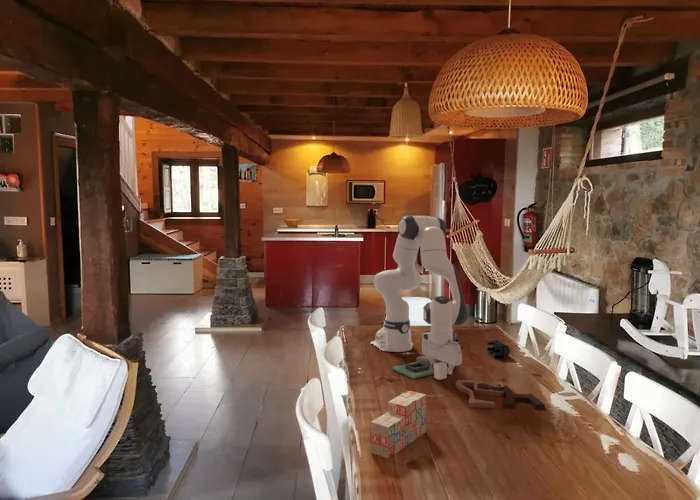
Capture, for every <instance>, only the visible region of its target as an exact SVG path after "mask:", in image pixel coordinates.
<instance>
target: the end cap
mask: <svg viewBox="0 0 700 500" xmlns="http://www.w3.org/2000/svg"><path fill="white" fill-rule="evenodd" d="M486 343H487V344H486V345H487V346H491V345H492V346H491V347H486V351H487V355H488V356H490V357H491V358H492V359H494V360H504V359H506V358H507V357H508V356H509V355H510V353H511V349H510V347H509V346H508V345H507V344H505V343H504V342H503V341H501V340H499V339H494V340H488V341H487V342H486Z"/></svg>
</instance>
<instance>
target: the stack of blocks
mask: <svg viewBox="0 0 700 500" xmlns="http://www.w3.org/2000/svg"><path fill="white" fill-rule="evenodd" d="M387 402H388V403H387V407H388V408H387V412H385V413H384V414H382V415H379V416H378V417H377V418H375V419H373V420H372V421H371V422H370V453H371V454H373V455H376V454H377V456H379V455H380V456H379V457H383V458H385V459H390V458H391V457H392V456H394V455H396V454H397V453H399V452H400V451H401V450H403V449H404V448H406V447H407V446H408V445H410V444H411V443H412V442H414V441H415V440H417V439H419V438H420V437H421V436H423V435H424V434H425V433H427V394H425V393H421V392H417V391H413V390H407V391H405V392H403V393H401V394H399V395H398V396H396V397H394V398H393V399H391V400H389V401H387Z"/></svg>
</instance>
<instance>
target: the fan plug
mask: <svg viewBox="0 0 700 500" xmlns="http://www.w3.org/2000/svg"><path fill="white" fill-rule="evenodd" d="M447 364H448V363H445V362H442V361H439V362H437V363H434V374H433V379H436V380H437V381H438V380H441V381H442V380H444V379H447V378H448V377H447V375H448V374H447V366H448V365H447Z"/></svg>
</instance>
